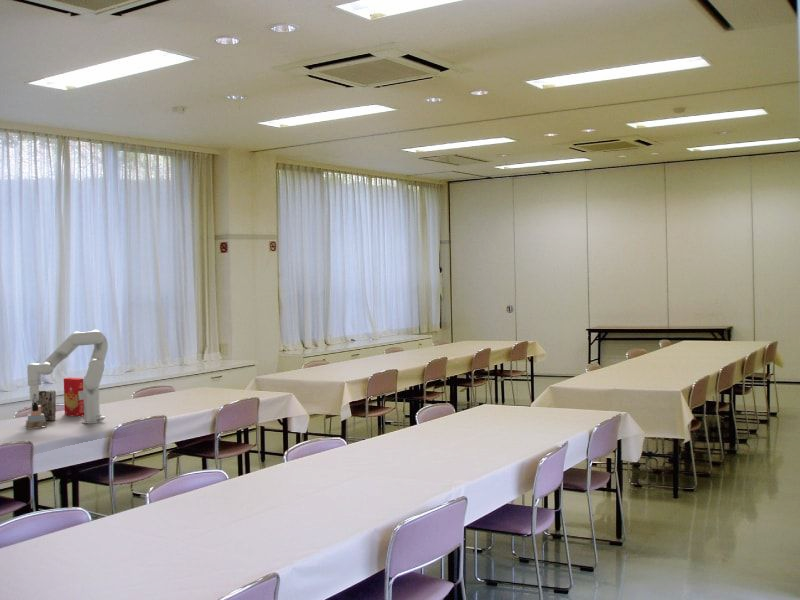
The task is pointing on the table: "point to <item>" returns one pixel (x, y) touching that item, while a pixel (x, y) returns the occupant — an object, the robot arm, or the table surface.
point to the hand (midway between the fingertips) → (35, 409)
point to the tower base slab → (35, 424)
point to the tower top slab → (36, 418)
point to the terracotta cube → (36, 411)
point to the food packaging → (73, 396)
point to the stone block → (47, 403)
